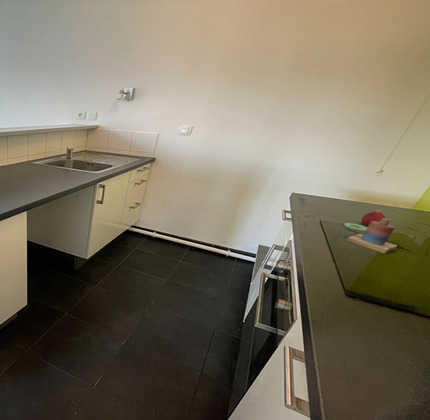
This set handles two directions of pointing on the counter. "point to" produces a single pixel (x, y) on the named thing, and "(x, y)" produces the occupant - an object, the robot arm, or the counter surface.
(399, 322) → the counter surface
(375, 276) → the counter surface
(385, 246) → the stand
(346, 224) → the ring
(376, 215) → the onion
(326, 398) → the counter surface
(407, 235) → the counter surface
